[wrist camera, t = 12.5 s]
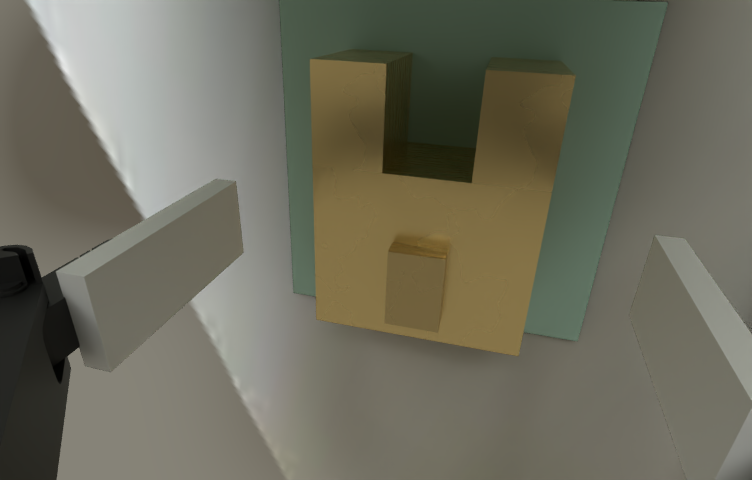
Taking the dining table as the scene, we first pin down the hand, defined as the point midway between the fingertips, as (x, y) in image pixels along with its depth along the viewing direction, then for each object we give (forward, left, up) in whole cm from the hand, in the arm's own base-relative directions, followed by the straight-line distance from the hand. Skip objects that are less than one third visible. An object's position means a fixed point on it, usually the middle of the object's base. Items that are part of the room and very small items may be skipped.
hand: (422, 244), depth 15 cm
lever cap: (0, 0, -6) cm, 6 cm away
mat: (0, 0, -6) cm, 6 cm away
